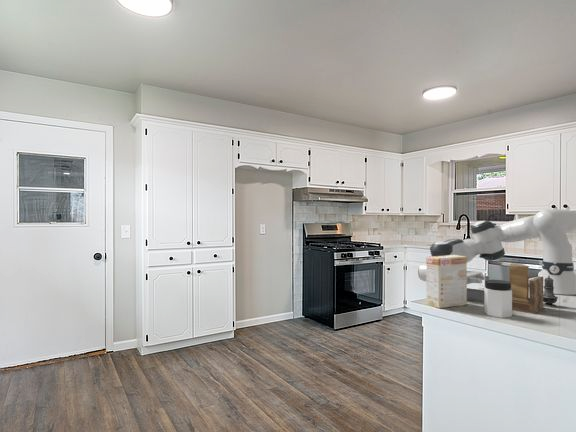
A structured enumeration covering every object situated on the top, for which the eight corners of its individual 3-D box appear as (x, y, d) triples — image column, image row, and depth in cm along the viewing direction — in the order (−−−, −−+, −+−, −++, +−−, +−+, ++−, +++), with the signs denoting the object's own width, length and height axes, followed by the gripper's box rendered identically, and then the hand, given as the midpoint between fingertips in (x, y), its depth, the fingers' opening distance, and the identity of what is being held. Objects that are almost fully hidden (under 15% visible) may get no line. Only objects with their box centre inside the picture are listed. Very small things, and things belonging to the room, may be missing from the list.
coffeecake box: (453, 301, 152) (453, 254, 152) (467, 305, 145) (467, 256, 145) (425, 304, 146) (425, 256, 146) (439, 308, 140) (439, 257, 140)
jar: (514, 318, 126) (514, 284, 126) (488, 317, 128) (488, 282, 128) (506, 312, 134) (506, 279, 134) (482, 310, 136) (482, 278, 136)
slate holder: (465, 295, 163) (465, 287, 163) (489, 299, 156) (489, 290, 156) (458, 298, 158) (458, 289, 158) (482, 301, 151) (482, 293, 151)
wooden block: (511, 303, 147) (511, 264, 148) (528, 306, 143) (528, 265, 143) (509, 304, 146) (509, 264, 146) (526, 307, 141) (526, 266, 141)
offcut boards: (502, 304, 146) (502, 296, 146) (531, 309, 138) (531, 300, 138) (499, 306, 144) (499, 297, 144) (528, 310, 136) (528, 301, 136)
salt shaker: (561, 307, 141) (561, 276, 141) (544, 307, 142) (544, 276, 142) (553, 304, 147) (553, 274, 147) (537, 303, 148) (537, 274, 148)
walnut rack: (504, 301, 151) (504, 272, 151) (543, 307, 141) (543, 276, 141) (493, 306, 142) (493, 276, 142) (533, 313, 132) (533, 280, 132)
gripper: (462, 280, 171) (494, 284, 160) (442, 285, 157) (476, 290, 147) (462, 266, 171) (494, 270, 160) (442, 271, 157) (476, 274, 147)
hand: (485, 279), depth 153 cm, fingers open, 8 cm apart
